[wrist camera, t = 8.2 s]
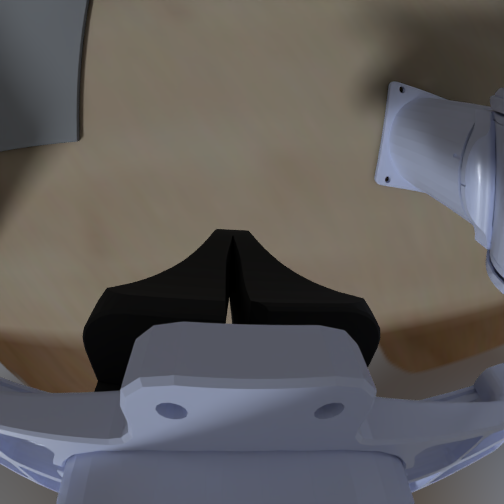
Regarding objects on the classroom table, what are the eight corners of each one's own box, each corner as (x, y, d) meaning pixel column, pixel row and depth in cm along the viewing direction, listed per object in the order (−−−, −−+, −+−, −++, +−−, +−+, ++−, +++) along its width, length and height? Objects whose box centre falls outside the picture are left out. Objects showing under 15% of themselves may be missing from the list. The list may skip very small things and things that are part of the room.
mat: (110, -79, 9) (109, -81, 9) (79, 140, 19) (76, 141, 18) (-34, -13, 8) (-37, -13, 7) (-50, 161, 17) (-53, 162, 17)
